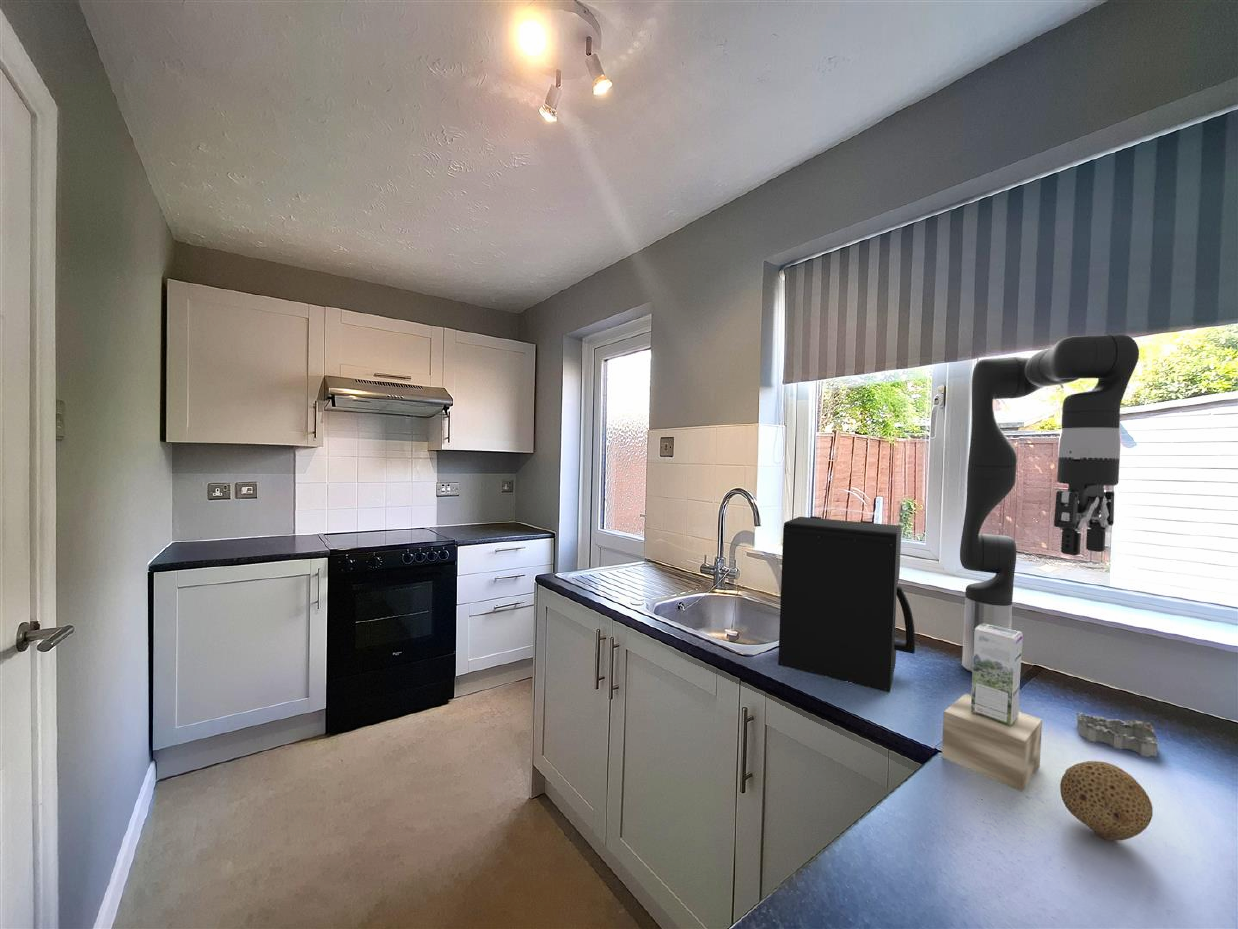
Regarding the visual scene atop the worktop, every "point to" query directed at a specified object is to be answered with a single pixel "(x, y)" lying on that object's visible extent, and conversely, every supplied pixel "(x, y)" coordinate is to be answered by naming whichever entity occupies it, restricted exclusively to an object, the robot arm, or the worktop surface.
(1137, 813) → the natural sponge
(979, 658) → the syrup box
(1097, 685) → the worktop surface
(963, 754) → the wooden block
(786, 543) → the coffee maker
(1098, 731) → the egg carton
